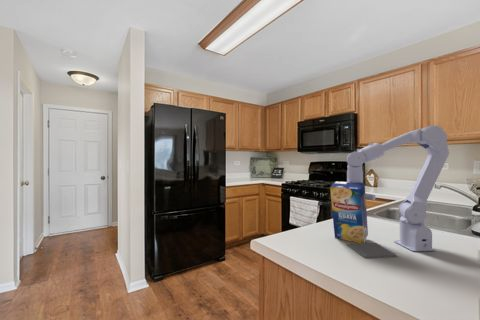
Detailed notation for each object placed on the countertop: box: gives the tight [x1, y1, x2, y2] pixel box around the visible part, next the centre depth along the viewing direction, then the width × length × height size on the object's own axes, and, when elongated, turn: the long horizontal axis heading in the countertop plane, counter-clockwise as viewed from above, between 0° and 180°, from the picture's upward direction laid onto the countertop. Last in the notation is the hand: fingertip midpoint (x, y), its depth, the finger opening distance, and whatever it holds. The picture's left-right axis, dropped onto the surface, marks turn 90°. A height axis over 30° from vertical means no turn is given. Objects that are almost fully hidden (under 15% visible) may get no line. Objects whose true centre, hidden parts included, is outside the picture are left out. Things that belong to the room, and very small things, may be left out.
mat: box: [346, 242, 398, 259], centre depth 80 cm, size 11×11×1 cm
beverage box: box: [329, 181, 369, 243], centre depth 91 cm, size 7×11×22 cm, turn 49°
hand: (354, 215), depth 92 cm, fingers closed
